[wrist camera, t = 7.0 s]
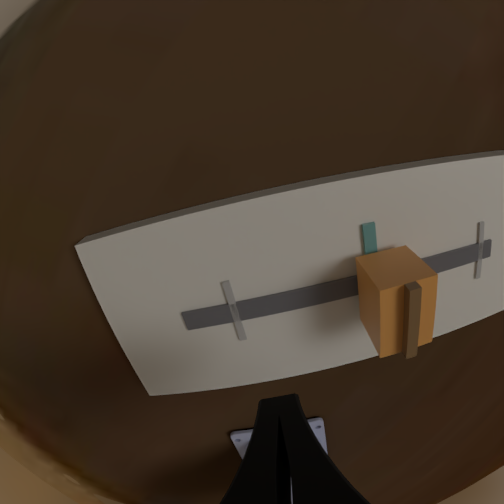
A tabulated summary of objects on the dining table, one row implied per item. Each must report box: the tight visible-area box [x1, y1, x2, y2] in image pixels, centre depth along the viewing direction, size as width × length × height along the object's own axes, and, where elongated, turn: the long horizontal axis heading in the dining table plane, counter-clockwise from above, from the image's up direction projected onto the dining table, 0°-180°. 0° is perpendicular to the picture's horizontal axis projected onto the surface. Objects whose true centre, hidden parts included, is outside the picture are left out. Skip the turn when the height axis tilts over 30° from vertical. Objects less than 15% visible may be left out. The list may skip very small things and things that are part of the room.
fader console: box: [75, 150, 504, 396], centre depth 18 cm, size 12×28×2 cm, turn 103°
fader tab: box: [355, 245, 438, 359], centre depth 15 cm, size 4×3×4 cm
